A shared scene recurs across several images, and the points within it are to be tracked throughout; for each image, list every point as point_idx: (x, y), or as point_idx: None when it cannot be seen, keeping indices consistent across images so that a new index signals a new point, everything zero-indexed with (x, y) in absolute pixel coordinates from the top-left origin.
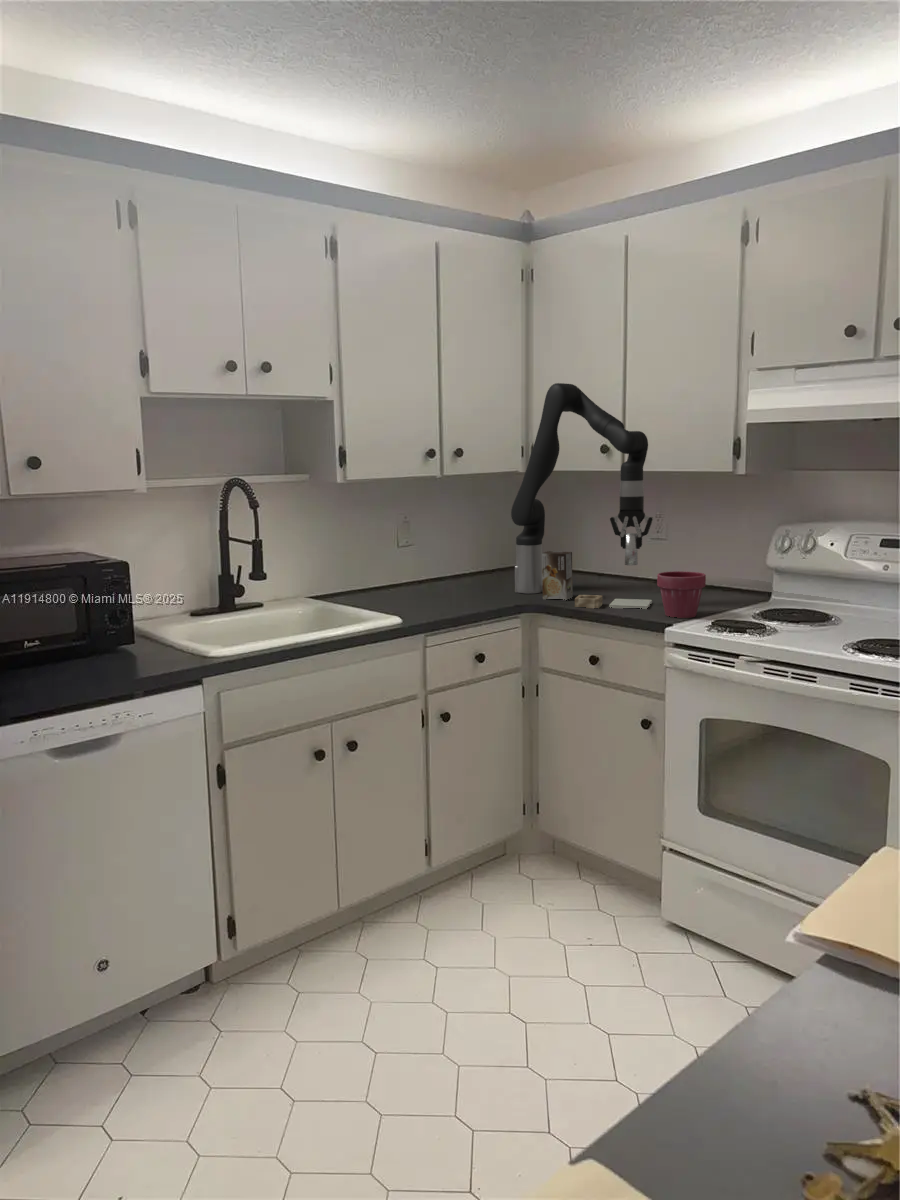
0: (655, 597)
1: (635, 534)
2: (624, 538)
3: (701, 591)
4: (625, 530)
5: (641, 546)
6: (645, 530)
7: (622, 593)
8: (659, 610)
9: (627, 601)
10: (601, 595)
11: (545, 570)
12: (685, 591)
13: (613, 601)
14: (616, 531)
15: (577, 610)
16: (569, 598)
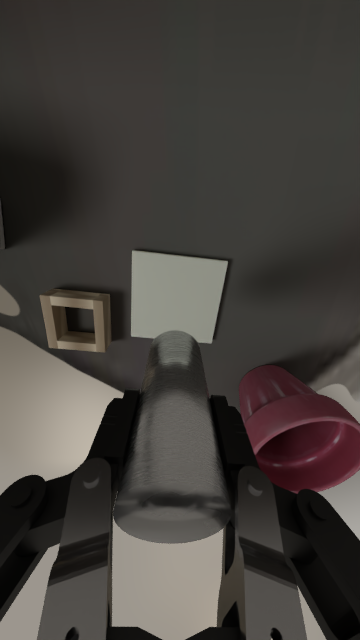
0: (245, 156)
1: (208, 531)
2: None
3: (325, 430)
4: (111, 575)
5: (234, 409)
6: (309, 586)
7: (134, 56)
8: (233, 347)
9: (167, 291)
10: (100, 301)
11: None
12: (287, 456)
13: (133, 293)
14: (24, 561)
15: (75, 360)
16: (1, 230)
